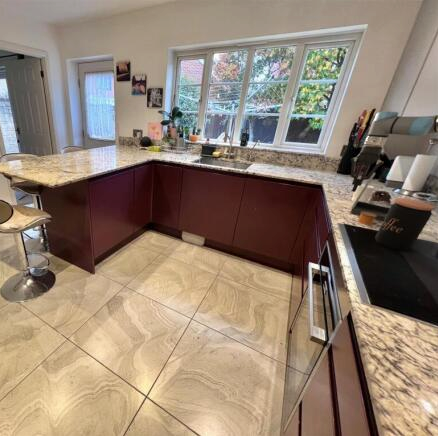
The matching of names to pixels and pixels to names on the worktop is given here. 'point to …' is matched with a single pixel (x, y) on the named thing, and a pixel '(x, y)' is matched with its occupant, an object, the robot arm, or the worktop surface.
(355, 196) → the white cup
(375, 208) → the drip tray
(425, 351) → the worktop surface
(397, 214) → the coffee jar
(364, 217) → the coffee pod
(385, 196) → the pottery mug
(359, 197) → the brew lid
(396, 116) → the robot arm
